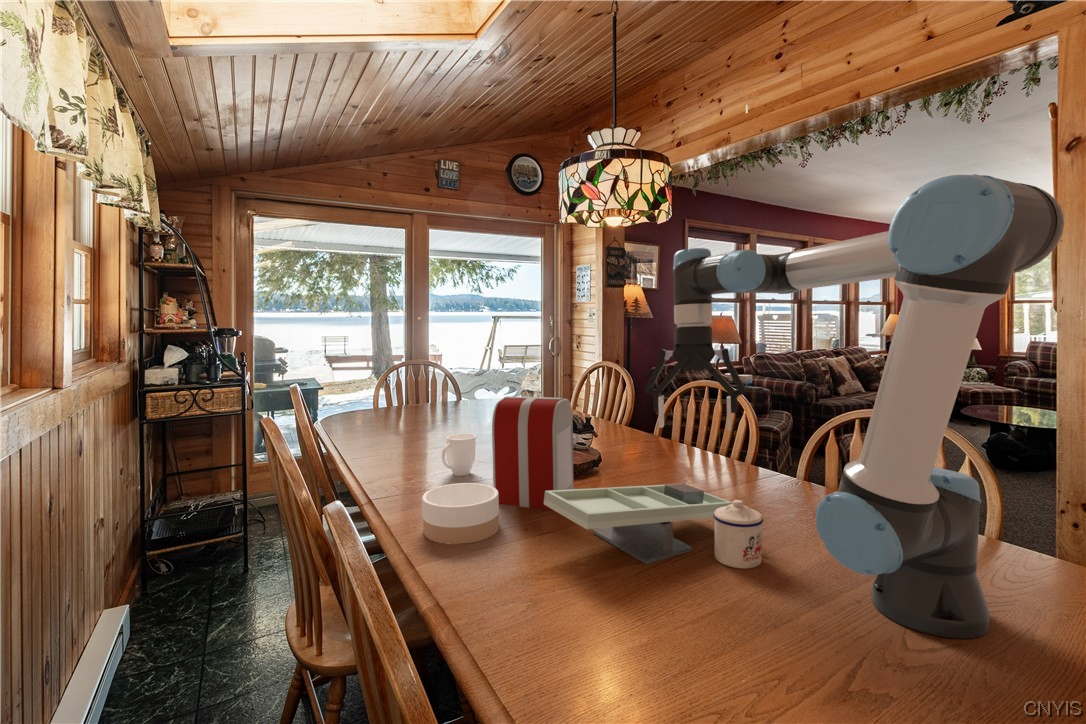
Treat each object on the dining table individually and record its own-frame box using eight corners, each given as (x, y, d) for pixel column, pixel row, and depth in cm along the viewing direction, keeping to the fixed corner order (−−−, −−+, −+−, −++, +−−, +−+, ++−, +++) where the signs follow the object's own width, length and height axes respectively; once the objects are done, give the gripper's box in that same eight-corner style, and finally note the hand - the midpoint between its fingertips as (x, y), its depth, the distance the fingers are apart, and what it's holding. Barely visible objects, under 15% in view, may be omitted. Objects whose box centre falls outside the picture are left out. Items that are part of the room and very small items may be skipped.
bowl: (408, 531, 123) (406, 495, 122) (467, 511, 136) (466, 478, 135) (455, 552, 111) (453, 512, 111) (514, 527, 124) (514, 492, 123)
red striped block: (557, 510, 135) (555, 403, 133) (492, 503, 140) (489, 401, 138) (574, 490, 150) (573, 394, 148) (515, 485, 156) (513, 392, 154)
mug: (462, 468, 175) (462, 431, 174) (481, 473, 169) (481, 435, 168) (434, 476, 166) (433, 438, 164) (453, 482, 160) (453, 442, 159)
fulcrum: (692, 550, 110) (692, 519, 109) (646, 564, 104) (646, 531, 103) (635, 522, 125) (635, 494, 125) (593, 533, 119) (592, 504, 119)
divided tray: (732, 515, 116) (733, 502, 116) (586, 529, 98) (588, 514, 98) (680, 495, 130) (681, 483, 130) (543, 504, 112) (544, 490, 112)
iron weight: (702, 504, 119) (704, 490, 119) (682, 506, 116) (684, 492, 116) (683, 496, 124) (684, 484, 124) (663, 498, 121) (664, 485, 121)
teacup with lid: (751, 574, 99) (752, 512, 98) (705, 560, 105) (705, 502, 104) (775, 553, 108) (776, 496, 107) (730, 541, 114) (731, 487, 113)
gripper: (757, 323, 110) (758, 426, 111) (636, 327, 119) (638, 423, 120) (758, 323, 103) (759, 433, 104) (629, 327, 112) (631, 428, 113)
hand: (694, 428), depth 112 cm, fingers open, 13 cm apart
